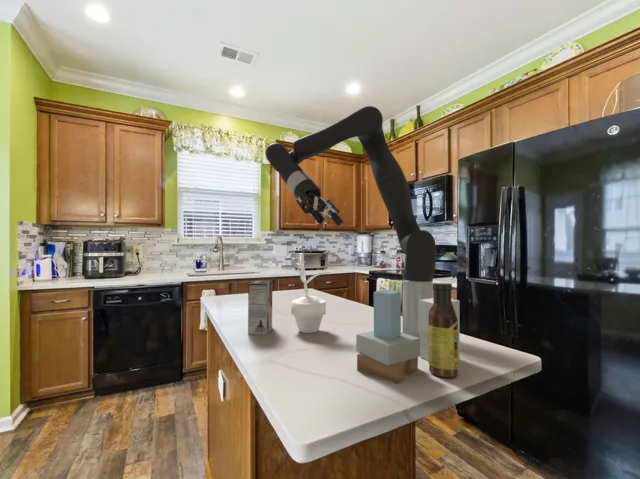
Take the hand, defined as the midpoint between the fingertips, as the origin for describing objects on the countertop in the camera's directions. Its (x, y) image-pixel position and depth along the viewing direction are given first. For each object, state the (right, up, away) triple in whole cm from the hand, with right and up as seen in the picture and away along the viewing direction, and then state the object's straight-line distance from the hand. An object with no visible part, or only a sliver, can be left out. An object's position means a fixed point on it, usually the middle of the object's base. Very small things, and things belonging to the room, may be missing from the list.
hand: (331, 222), depth 90 cm
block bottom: (+12, -35, -20) cm, 42 cm away
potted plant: (-7, -35, +12) cm, 38 cm away
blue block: (+12, -27, -20) cm, 35 cm away
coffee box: (-23, -35, +12) cm, 44 cm away
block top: (+12, -31, -20) cm, 38 cm away
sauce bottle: (+24, -35, -21) cm, 47 cm away
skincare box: (+26, -35, -12) cm, 45 cm away
